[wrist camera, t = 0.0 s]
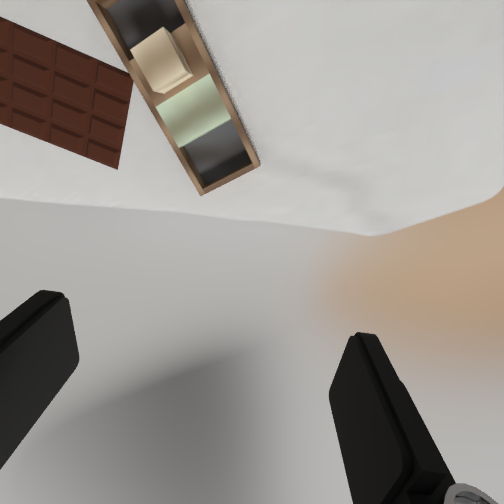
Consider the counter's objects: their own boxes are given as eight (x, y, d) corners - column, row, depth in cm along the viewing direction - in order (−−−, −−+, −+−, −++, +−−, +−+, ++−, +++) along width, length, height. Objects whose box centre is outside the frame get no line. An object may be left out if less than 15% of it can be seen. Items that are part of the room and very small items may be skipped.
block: (143, 56, 35) (130, 49, 31) (173, 36, 34) (163, 26, 30) (164, 93, 36) (153, 91, 33) (193, 75, 35) (185, 70, 32)
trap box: (98, 7, 35) (85, -2, 32) (164, -43, 33) (155, -57, 30) (204, 191, 45) (200, 196, 42) (260, 162, 43) (260, 166, 40)
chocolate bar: (135, 76, 39) (132, 75, 38) (118, 169, 44) (115, 170, 43) (-75, -17, 35) (-84, -20, 34) (-64, 97, 41) (-72, 96, 40)
